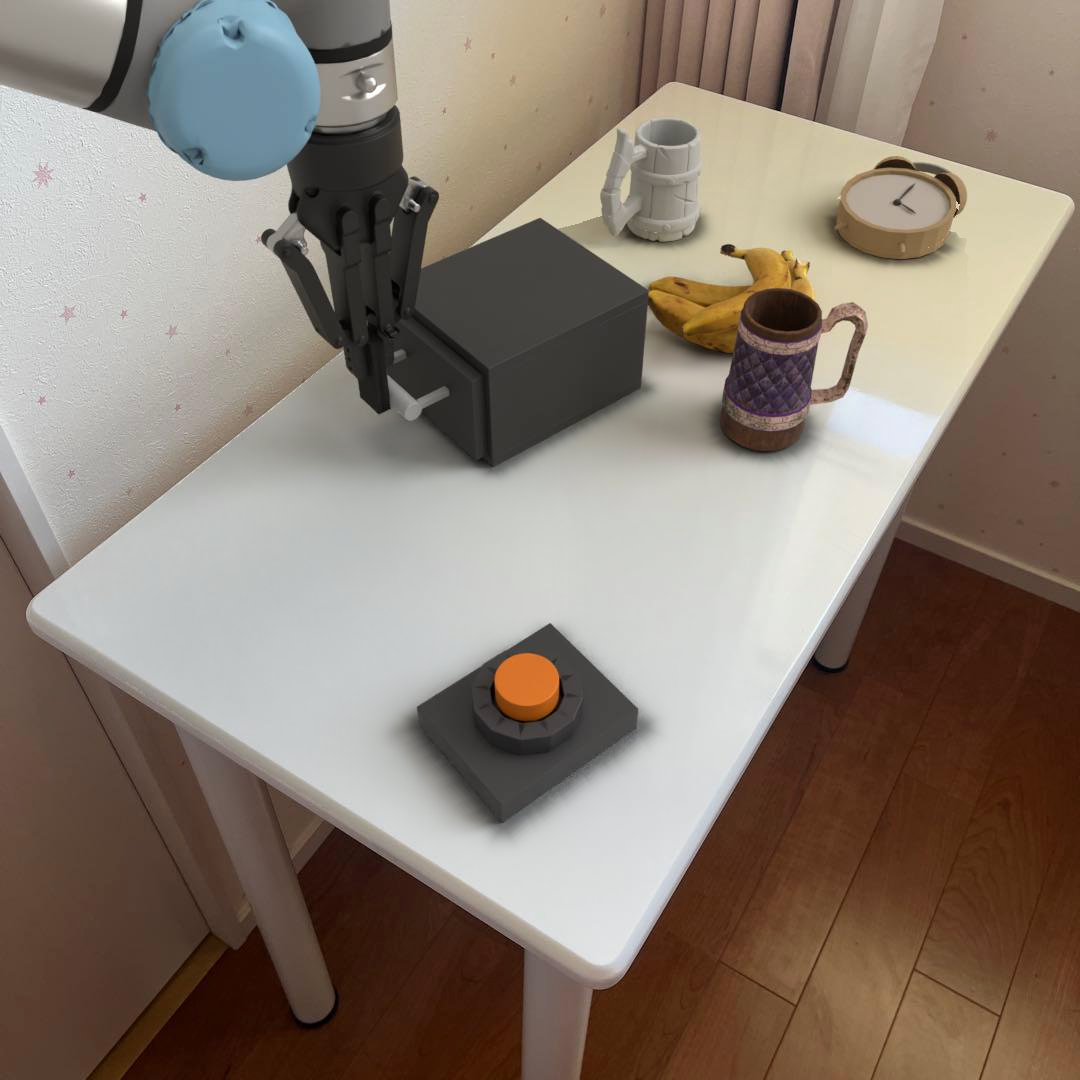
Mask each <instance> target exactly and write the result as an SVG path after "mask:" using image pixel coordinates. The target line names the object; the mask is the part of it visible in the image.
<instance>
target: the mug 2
mask: <svg viewBox="0 0 1080 1080" xmlns="http://www.w3.org/2000/svg"><path fill="white" fill-rule="evenodd" d="M843 321H844V322H845V321H846V322H850V323H852V325H854V328H855V329H854V331H853V334H852V337H851V340H850V343H849V346H848V350H847V353H846V357H845V361H844V364H843V367H842V372H841V375H840V378H839V380H838V381H837V383H836V385H833V386H831V387H828V388H820V389H812V382H813V376H814V370H815V366H816V359H817V354H818V353H817V352H818V349H819V341H820V339H821V336H822V334H825V333H829V332H831V331H832V330H833V329H834V327H835V326H836V325H837V324H839V323H841V322H843ZM868 328H869V323H868V317H867V314H866V311H865V310H864V309H863V308H862V307H861V306H860V305H858V304H857V303H855V302H854V301H851V302H845V303H841V304H838V305H836V306H834V307H832V308H831V309H830V310H829V313H828V315H827V317H826V318H823V310H822V309H821V306H820V304H819V303H818V302H817V301H816V300H815V301H814V300H813V299H812V298H811V297H809V296H807V295H805V294H803V293H802V292H798V291H795V290H791V289H784V288H771V289H765V290H761V291H758V292H756V293H754V294H753V295H751V296H749V297H748V299H747V300H746V301H745V303H744V306H743V309H742V310H741V313H740V318H739V323H738V332H737V337H736V342H735V347H734V352H733V353H732V358H731V363H730V367H729V372H728V375H727V377H725V381H724V386H723V390H722V397H721V404H722V406H721V411H720V418H719V423H720V425H721V429H722V431H723V432H724V434H726V436H727V437H728V438H729V439H730V440H731V441H733V442H735V443H736V444H737V445H740V446H741V447H743V448H747V449H750V450H753V451H761V452H772V451H779V450H782V449H786V448H788V447H791V446H792V445H794V444H795V443H796V442H797V441H800V438H801V436H802V435H803V433H804V430H805V424H806V418H807V416H808V414H809V413H810V408H811V407H810V406H813V405H820V404H827V403H833V402H835V401H838V400H840V399H843V398H844V396H845V395H846V394H847V393H848V391H849V389H850V386H851V383H852V379H853V375H854V371H855V368H856V364H857V361H858V357H859V352H860V351H861V348H862V346H863V343H864V340H865V338H866V335H867V332H868Z"/></svg>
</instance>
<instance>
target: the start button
mask: <svg viewBox="0 0 1080 1080" xmlns="http://www.w3.org/2000/svg"><path fill="white" fill-rule="evenodd" d="M494 682H495V698H496V702H497V705H498V707H499V708H500V709H501V711H502V712H503V713H504V714H506V715H507V716H508V717H510V718H512V719H515V720H519V721H535V720H539V719H541V718H543V717H545V716H547V715H548V714H549V713H551V712H552V711H553V709H554V708H555V706H556V705H557V702H558V699H559V675H558V672H557V669H556V668H555V666H554V665H553V664H552V663H551V662H550V661H549V660H548V659H546V658H544V657H542V656H540V655H537V654H531V653H523V654H518V655H514V656H512V657H510V658H508V659H506V660H505V661H504V662H503V663H502V664H501V665H500V666H499V667H498V669H497V671H496V674H495V679H494Z"/></svg>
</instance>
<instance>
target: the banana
mask: <svg viewBox="0 0 1080 1080" xmlns="http://www.w3.org/2000/svg"><path fill="white" fill-rule="evenodd" d="M719 254H721V255H724V256H727V257H730V258H733V259H740V260H742V261H744V262H745V265H746V268H747V269H748V271H749V273H750V275H751V277H752V284H749V285H735V286H734V285H718V284H710V283H706V282H705V283H704V282H699V281H696V280H691V279H687V278H683V277H680V276H679V277H678V276H665V277H662V278H659V279H657V280H654V281H652V282H650V283H649V284H648V285H649V286H648V290H649V295H648V308H649V309H650V310H651V312H652V314H653V315H654V317H655V318H656V320H657V321H658V322H659V323H660V324H661V325H662V326H663V327H664V328H666V329H667V330H669V332H671V333H673V334H675V335H677V336H679V337H680V338H682V339H684V340H687V341H688V342H690V343H693V344H695V345H699V346H701V347H704V348H706V349H709V350H713V351H716V352H717V351H718V352H723V353H727V354H728V353H729V354H733V352H734V347H735V342H736V337H737V332H738V323H739V318H740V313H741V310H742V309H743V306H744V303H745V301H746V300H747V299H748V297H749V296H751V295H753V294H754V293H756V292H758V291H761V290H765V289H771V288H784V289H791V290H795V291H798V292H802V293H803V294H805V295H807V296H809V297H811V298H812V299H813V300H814V301H815V302H816V295H815V294H816V293H815V290H814V288H813V285H812V283H811V282H810V280H809V278H808V276H807V275H808V272H809V269H810V266H811V265H810V264H811V262H810V261H802V262H801V261H800V260H799V259H798V258H794V257H793V251H792V250H785V249H784V250H782V251H781V253H779V252H777V251H776V250H774V249H771V248H770V247H769V248H768V247H754V248H748V249H741V248H738V247H736V246H735V245H734V244H732V243H726V244H723V245H721V247H720V252H719Z"/></svg>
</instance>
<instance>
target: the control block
mask: <svg viewBox="0 0 1080 1080" xmlns="http://www.w3.org/2000/svg"><path fill="white" fill-rule="evenodd" d="M523 653H531V654H537V655H540V656H542V657H544V658H546V659H548V660H549V661H550V662H551V663H552V664H553V665H554V666H555V668H556V669H557V672H558V675H559V699H558V702H557V705H556V706H555V708H554V709H553V711H552V712H551V713H549V714H548V715H547V716H545V717H543V718H541V719H539V720H535V721H519V720H515V719H512V718H510V717H508V716H507V715H506V714H504V713H503V712H502V711H501V709H500V708H499V707H498V705H497V702H496V698H495V682H494V679H495V674H496V671H497V669H498V667H499V666H500V665H501V664H502V663H503V662H504V661H505V660H506V659H508V658H510V657H512V656H514V655H518V654H523ZM416 713H417V718H418V719H417V720H418V725H419V728H421V730H422V731H423V733H425V735H427V737H428V738H429V739H430V740H431V741H432V742H433V744H434V745H435V746H436V747H437V748H438V750H439V751H440V752H441V753H442V754H443V756H444V757H445V758H446V759H447V760H448V761H449V763H450V764H451V765H452V766H453V767H454V769H455V770H456V771H457V772H458V773H459V774H460V775H461V777H462V778H463V779H464V780H465V782H467V784H468V785H469V786H470V787H471V788H472V789H473V791H474V792H475V793H476V794H477V796H478V797H479V798H480V799H481V800H482V801H483V802H484V804H485V805H486V806H487V808H489V810H490V811H491V812H492V813H493V815H495V816H496V818H497V819H498V820H499V821H500V822H501V823H502V824H503V823H505V822H506V821H508V820H509V819H510V818H512V817H513V816H514V815H516V814H517V813H519V812H520V811H522V810H523V809H525V808H526V807H527V806H529V805H530V804H531V803H533V802H534V801H536V800H537V799H538V798H540V797H541V796H543V795H544V794H545V793H547V792H549V790H552V788H554V787H555V786H556V785H558V784H560V783H561V782H562V781H564V780H565V779H566V778H568V777H570V776H571V775H573V773H575V772H576V771H578V770H579V769H581V768H582V767H584V766H585V765H587V764H588V763H590V761H592V760H594V759H595V758H596V757H597V756H599V755H600V754H602V753H603V752H605V751H607V749H609V748H610V747H612V746H613V745H615V744H616V743H617V742H619V741H620V740H622V739H623V738H624V737H626V736H627V735H628V734H630V733H632V732H633V731H634V730H636V729H637V728H638V727H637V726H638V717H639V708H638V707H637V706H636V705H635V704H634V703H633V702H632V701H631V700H630V699H629V698H628V697H627V696H626V695H625V694H624V693H623V692H622V691H621V690H619V688H618V687H617V686H615V684H614V683H612V682H611V681H610V680H609V678H607V676H606V675H604V674H603V673H602V672H601V671H600V670H599V669H598V668H597V667H596V666H595V664H593V663H592V662H591V661H590V660H589V659H588V658H587V657H586V656H585V655H584V654H583V653H582V652H581V651H580V650H579V649H578V648H577V647H576V646H575V645H573V644H572V643H571V641H569V639H567V637H566V636H565V635H563V634H562V633H561V632H560V631H559V630H558V629H557V628H556V627H555V626H554V625H553V624H552V623H551V622H549V623H548V624H546V625H544V626H543V627H541V628H539V629H538V630H537V631H535V632H533V633H532V634H530V635H528V636H527V637H525V638H523V639H522V640H521V641H519V642H517V643H516V644H514V645H513V646H511V647H509V648H508V649H505V650H503V651H502V652H500V653H499V654H497V655H495V656H493V657H492V658H491V659H489V660H487V661H486V662H484V663H483V664H481V666H479V667H477V668H476V669H474V670H473V671H472V672H470V673H468V674H466V675H465V676H464V677H461V678H460V679H459V680H457V681H455V682H453V683H452V684H451V685H449V686H447V687H446V688H444V689H443V690H441V691H439V692H438V693H436V694H435V695H433V696H431V697H430V698H428V699H427V700H425V701H423V702H422V703H420V704H418V705H417V706H416Z"/></svg>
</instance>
